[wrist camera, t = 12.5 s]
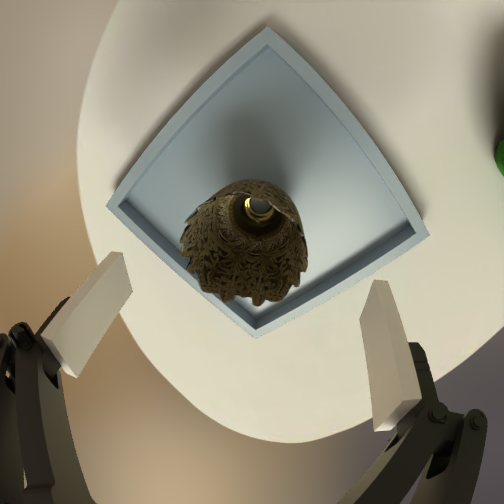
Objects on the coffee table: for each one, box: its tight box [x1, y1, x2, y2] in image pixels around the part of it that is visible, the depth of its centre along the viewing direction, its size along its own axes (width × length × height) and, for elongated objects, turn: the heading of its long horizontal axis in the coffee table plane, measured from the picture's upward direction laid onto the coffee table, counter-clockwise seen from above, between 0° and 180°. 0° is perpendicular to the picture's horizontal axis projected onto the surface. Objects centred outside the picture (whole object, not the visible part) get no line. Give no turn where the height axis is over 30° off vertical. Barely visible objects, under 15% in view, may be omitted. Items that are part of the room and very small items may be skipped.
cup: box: [180, 179, 308, 307], centre depth 19 cm, size 8×7×8 cm
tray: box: [106, 26, 430, 339], centre depth 22 cm, size 20×20×2 cm
